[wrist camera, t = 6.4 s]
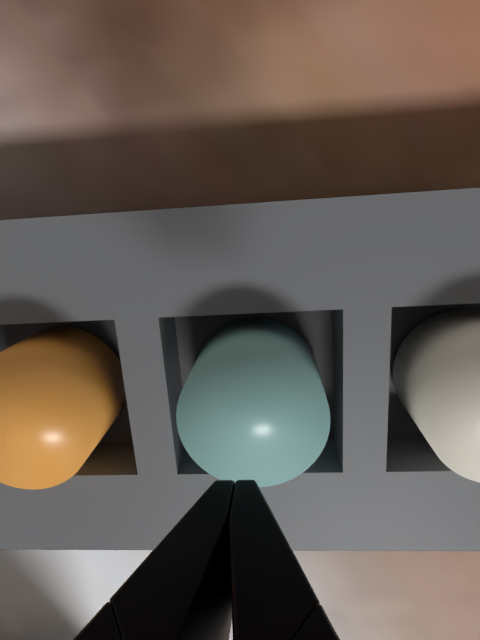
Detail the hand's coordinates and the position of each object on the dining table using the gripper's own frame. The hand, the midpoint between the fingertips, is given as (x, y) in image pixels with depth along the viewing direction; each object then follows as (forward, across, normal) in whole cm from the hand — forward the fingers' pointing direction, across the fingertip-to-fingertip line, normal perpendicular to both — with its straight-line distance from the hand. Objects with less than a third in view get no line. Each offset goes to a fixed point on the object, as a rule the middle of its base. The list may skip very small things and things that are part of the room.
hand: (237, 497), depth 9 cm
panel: (+7, 0, 0) cm, 7 cm away
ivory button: (+6, -7, 0) cm, 10 cm away
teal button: (+6, 0, 0) cm, 7 cm away
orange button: (+6, +7, 0) cm, 9 cm away
